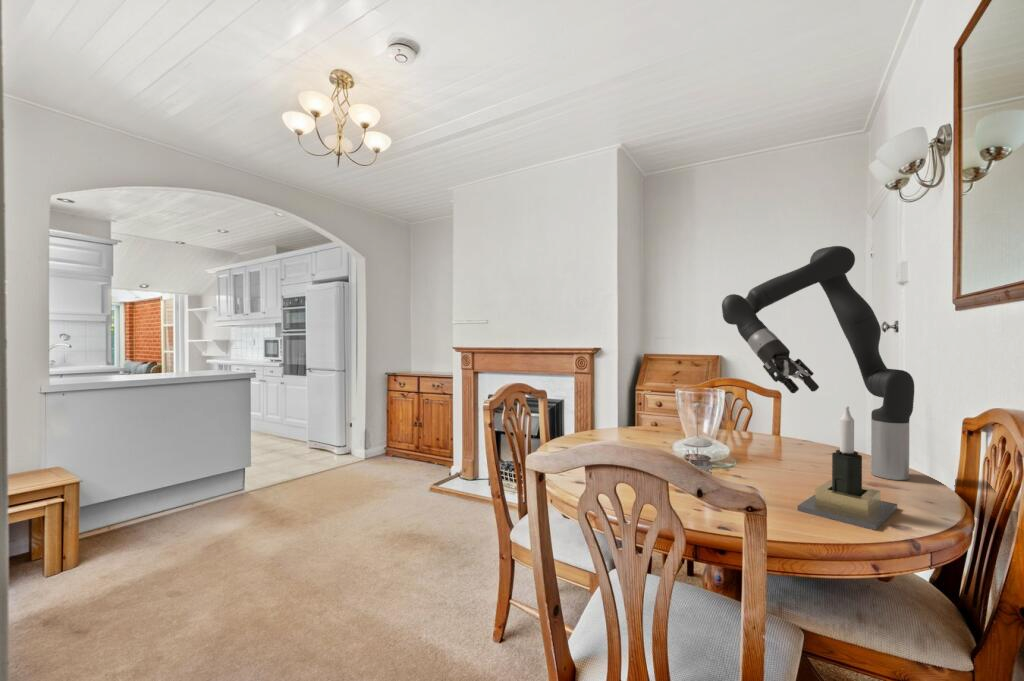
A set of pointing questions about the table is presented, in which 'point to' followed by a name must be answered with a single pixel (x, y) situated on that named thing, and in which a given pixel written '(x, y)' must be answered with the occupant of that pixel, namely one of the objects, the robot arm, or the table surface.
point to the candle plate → (850, 516)
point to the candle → (847, 460)
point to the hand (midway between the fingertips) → (806, 390)
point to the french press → (697, 459)
